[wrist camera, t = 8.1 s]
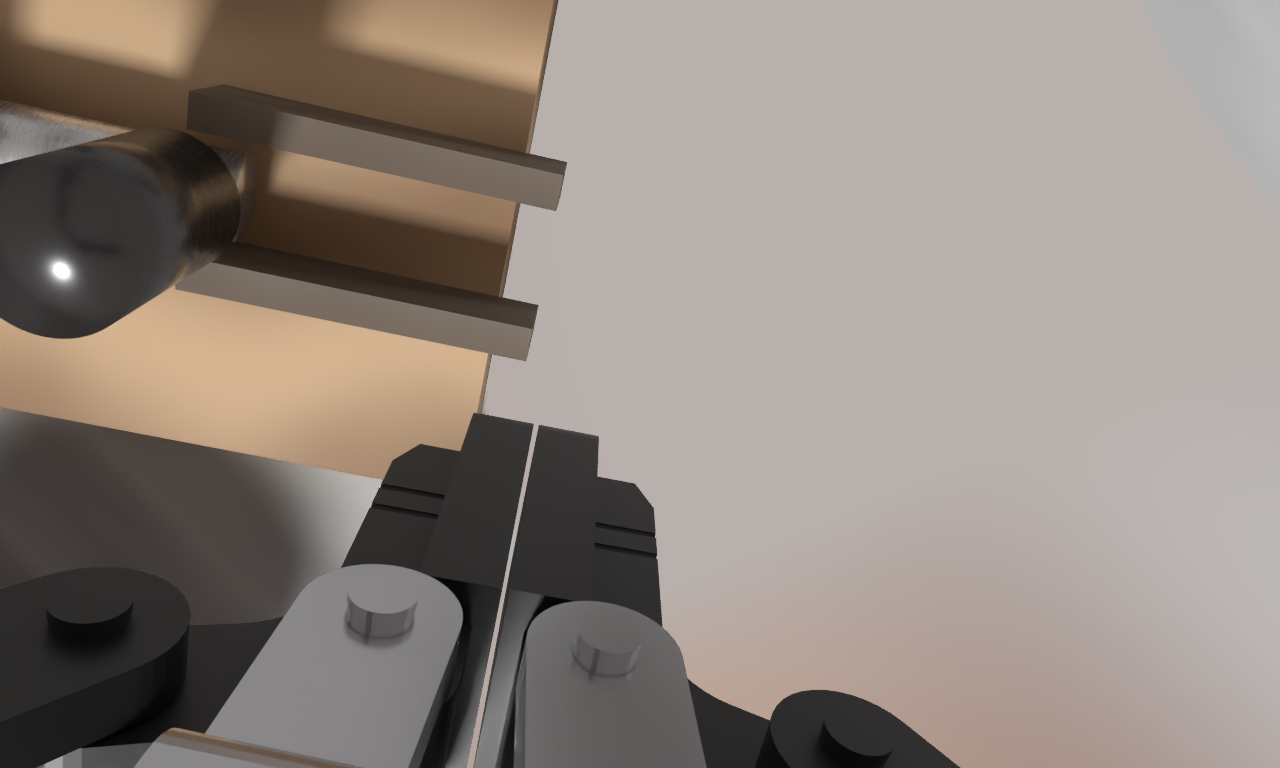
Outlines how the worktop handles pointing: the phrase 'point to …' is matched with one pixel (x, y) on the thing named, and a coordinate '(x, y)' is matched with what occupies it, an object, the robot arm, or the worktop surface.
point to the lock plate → (305, 217)
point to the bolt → (107, 216)
